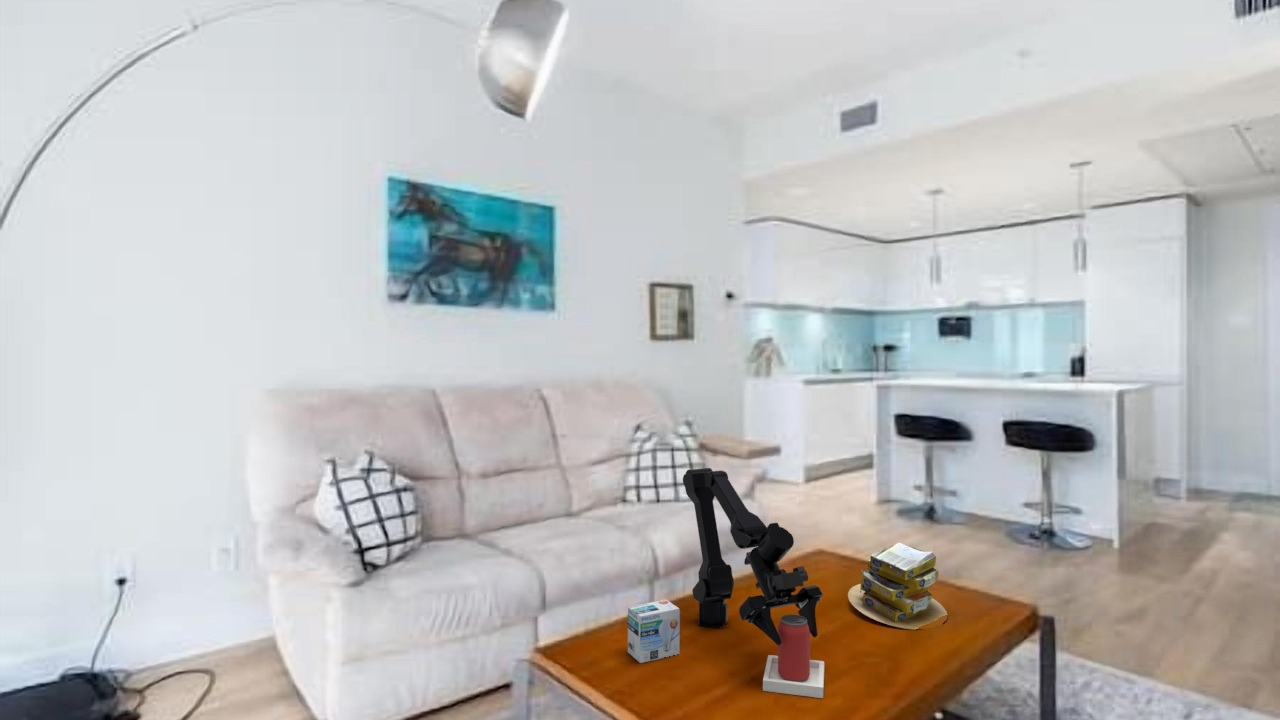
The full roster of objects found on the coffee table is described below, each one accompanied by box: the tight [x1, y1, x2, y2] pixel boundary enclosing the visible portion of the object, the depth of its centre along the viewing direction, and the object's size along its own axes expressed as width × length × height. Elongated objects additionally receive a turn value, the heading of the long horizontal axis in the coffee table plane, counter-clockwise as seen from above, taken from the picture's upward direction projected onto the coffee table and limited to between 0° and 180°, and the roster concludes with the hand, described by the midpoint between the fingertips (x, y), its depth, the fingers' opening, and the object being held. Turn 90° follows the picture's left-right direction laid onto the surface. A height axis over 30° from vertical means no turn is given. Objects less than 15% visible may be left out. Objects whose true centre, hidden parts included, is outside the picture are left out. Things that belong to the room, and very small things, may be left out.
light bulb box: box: [627, 599, 681, 664], centre depth 161 cm, size 11×7×11 cm, turn 117°
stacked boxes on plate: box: [847, 542, 948, 630], centre depth 186 cm, size 25×25×17 cm
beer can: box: [777, 614, 811, 682], centre depth 148 cm, size 7×7×12 cm
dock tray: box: [762, 654, 825, 699], centre depth 148 cm, size 12×12×2 cm
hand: (798, 640), depth 147 cm, fingers open, 9 cm apart
